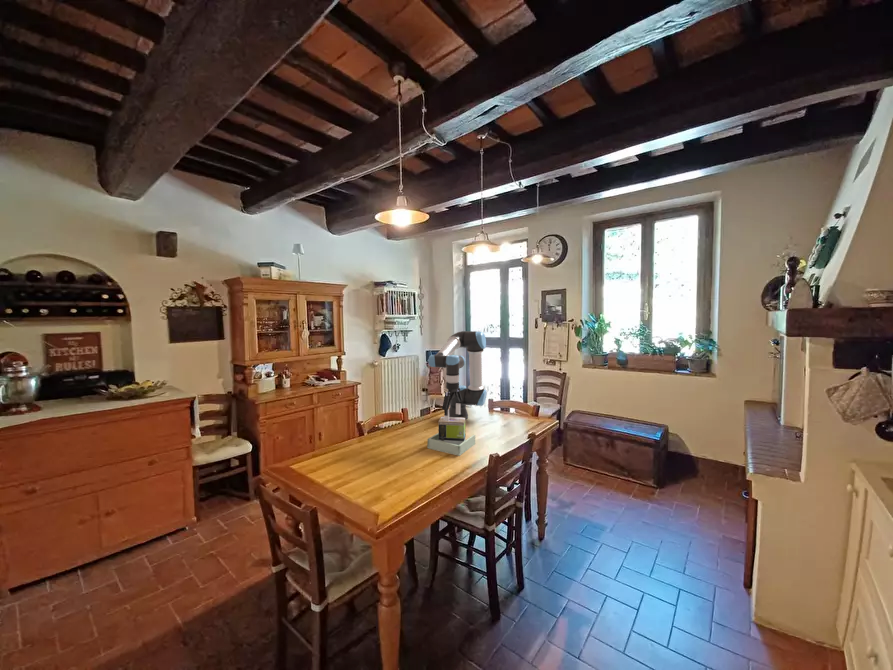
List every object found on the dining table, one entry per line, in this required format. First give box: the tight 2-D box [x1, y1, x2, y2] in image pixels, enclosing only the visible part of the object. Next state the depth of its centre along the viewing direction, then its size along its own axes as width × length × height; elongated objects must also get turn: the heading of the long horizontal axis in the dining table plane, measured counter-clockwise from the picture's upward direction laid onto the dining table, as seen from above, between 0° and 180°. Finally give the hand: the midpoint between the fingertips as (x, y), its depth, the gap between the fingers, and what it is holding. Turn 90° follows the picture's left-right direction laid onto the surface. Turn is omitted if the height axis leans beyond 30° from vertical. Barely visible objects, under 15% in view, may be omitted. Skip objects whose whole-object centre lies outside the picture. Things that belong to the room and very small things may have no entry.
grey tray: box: [427, 432, 476, 457], centre depth 214 cm, size 20×21×6 cm
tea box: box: [437, 416, 467, 445], centre depth 215 cm, size 15×10×15 cm
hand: (452, 417), depth 214 cm, fingers open, 13 cm apart
